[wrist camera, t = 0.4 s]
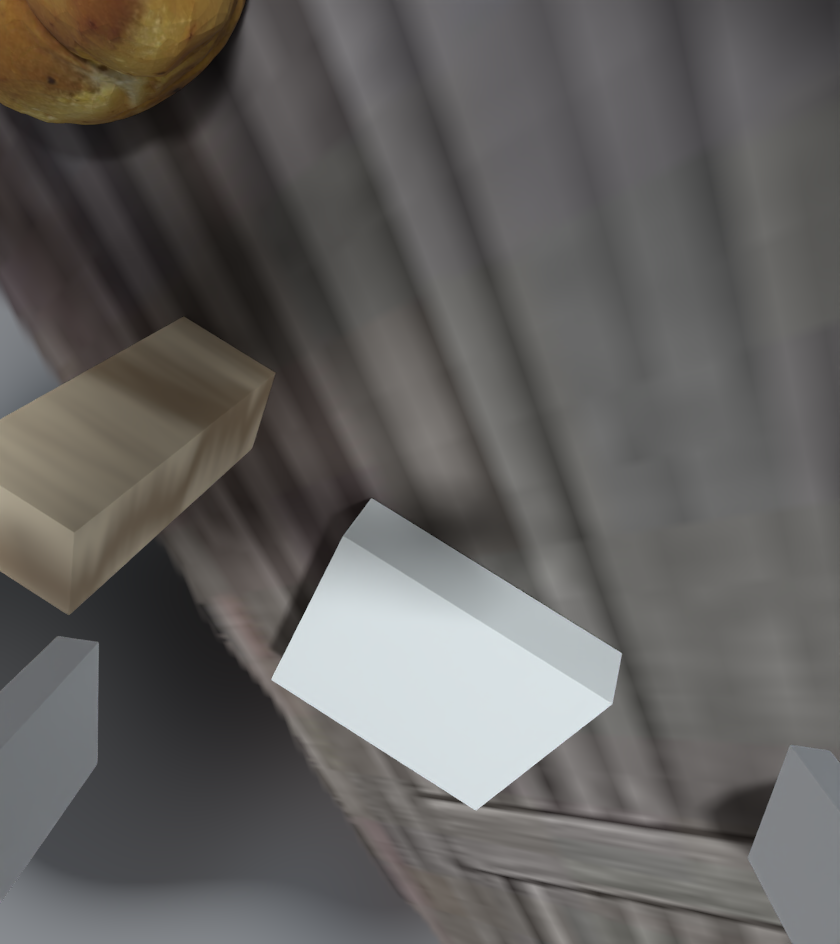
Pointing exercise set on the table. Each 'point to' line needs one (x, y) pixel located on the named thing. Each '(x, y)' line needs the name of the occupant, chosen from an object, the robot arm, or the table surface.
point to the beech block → (121, 456)
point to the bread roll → (105, 54)
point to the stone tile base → (442, 660)
